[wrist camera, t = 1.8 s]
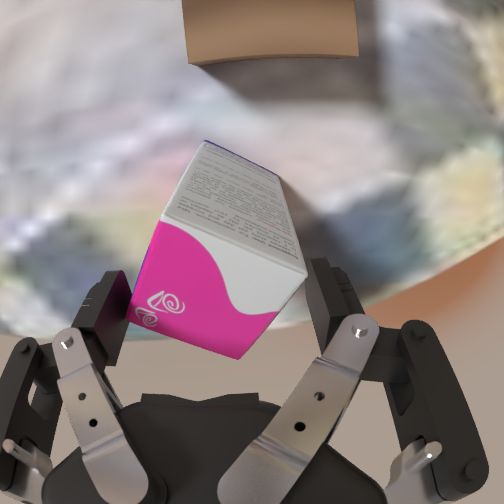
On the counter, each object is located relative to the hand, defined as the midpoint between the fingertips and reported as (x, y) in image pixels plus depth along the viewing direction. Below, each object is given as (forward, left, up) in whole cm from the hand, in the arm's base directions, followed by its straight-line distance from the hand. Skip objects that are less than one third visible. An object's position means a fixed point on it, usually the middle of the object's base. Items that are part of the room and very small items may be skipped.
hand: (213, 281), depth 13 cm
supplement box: (0, 0, -10) cm, 10 cm away
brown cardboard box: (-14, +4, -10) cm, 17 cm away
